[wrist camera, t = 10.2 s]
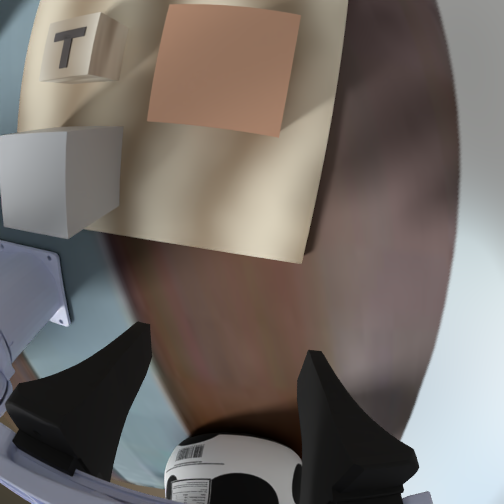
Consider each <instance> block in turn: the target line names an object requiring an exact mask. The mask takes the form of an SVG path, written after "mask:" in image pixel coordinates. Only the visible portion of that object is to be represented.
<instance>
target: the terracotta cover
mask: <svg viewBox="0 0 504 504" xmlns="http://www.w3.org/2000/svg"><path fill="white" fill-rule="evenodd" d="M300 19H301V15H298V14H292V13H287V12H281V11H274V10H267V9H260V8H251V7H242V6H229V5H211V4H170V5H169V8H168V12H167V16H166V20H165V25H164V29H163V33H162V38H161V42H160V47H159V52H158V56H157V62H156V67H155V72H154V78H153V84H152V90H151V96H150V103H149V110H148V117H147V121H149V122H163V123H175V124H186V125H196V126H205V127H213V128H221V129H228V130H235V131H242V132H248V133H254V134H260V135H266V136H272V137H277V138H279V135H280V129H281V124H282V118H283V113H284V108H285V102H286V97H287V91H288V86H289V80H290V75H291V69H292V64H293V58H294V53H295V47H296V41H297V36H298V30H299V25H300Z"/></svg>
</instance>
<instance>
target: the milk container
mask: <svg viewBox="0 0 504 504" xmlns="http://www.w3.org/2000/svg"><path fill="white" fill-rule="evenodd" d="M301 477H302V461H301V459H300V457H299V456H298V455H297V454H296V453H295V452H294V451H293V450H292V449H291V448H290V447H288V446H286V445H284V444H282V443H279V442H277V441H274V440H272V439H270V438H265V437H260V436H256V435H252V434H245V433H231V432H220V433H208V434H202V435H198V436H194V437H191V438H188V439H186V440H184V441H182V442H181V443H180V444H179V445H178V446H177V447H176V448H175V449H174V451H173V452H172V454H171V456H170V458H169V460H168V463H167V465H166V469H165V476H164V481H165V494H166V499H168V500H173V501H177V502H182V503H187V504H299V502H300V491H301Z"/></svg>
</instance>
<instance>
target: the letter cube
mask: <svg viewBox="0 0 504 504" xmlns="http://www.w3.org/2000/svg"><path fill="white" fill-rule="evenodd" d="M128 30H129V28H128V27H126V26H125V25H123V24H121V23H120V22H118V21H116V20H114V19H113V18H111V17H109V16H107V15H106V14H104V13H102V12H98V13H93V14H88V15H83V16H78V17H74V18H70V19H66V20H62V21H58V22H55V23H51V24H50V27H49V31H48V35H47V39H46V44H45V49H44V54H43V59H42V64H41V70H40V77H39V81H41V82H54V83H65V84H82V83H93V82H107V81H119V78H120V71H121V65H122V60H123V54H124V49H125V44H126V39H127V34H128Z"/></svg>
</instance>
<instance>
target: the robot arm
mask: <svg viewBox="0 0 504 504" xmlns="http://www.w3.org/2000/svg"><path fill="white" fill-rule="evenodd" d="M50 257H51V258H50ZM48 321H51V322H54V323H57V324H60V325H63V326H66V327H68V326H69V325H70V324H71V322H70V317H69V313H68V308H67V303H66V297H65V292H64V286H63V280H62V274H61V267H60V259H59V256H58V254H57V253H55V252H50V251H46V250H41V249H37V248H33V247H28V246H24V245H20V244H16V243H11V242H7V241H3V240H0V417H1V416H2V415H3V414H4V413H5V411H6V410H7V412H8V414H9V415H10V417H11V418H12V420H13V421H14V423H15V424H16V426H17V427H18V428H19V430H18V432H17V434H16V433H15V432H14V431H12V430H11V429H10V428H8V427H6V426H5V425H3V424H2V423H0V483H2V484H3V485H4V486H6V487H7V488H9V489H10V490H12V491H13V492H15V493H16V494H18V495H19V496H21V497H22V498H24V499H25V500H27V501H29V502H31V503H32V504H187V503H182V502H177V501H173V500H168V499H164V498H160V497H156V496H152V495H149V494H145V493H141V492H138V491H134V490H131V489H128V488H125V487H122V486H119V485H116V484H113V483H110V479H111V474H112V469H113V464H114V460H115V455H116V451H117V447H118V444H119V440H120V436H121V433H122V430H123V427H124V423H125V420H126V417H127V415H128V412H129V410H130V408H131V406H132V403H133V401H134V399H135V397H136V395H137V393H138V391H139V389H140V387H141V384H142V382H143V380H144V378H145V376H146V373H147V370H148V368H149V364H150V361H151V358H152V350H151V336H150V324H146V323H141V322H136V323H135V324H134V325H132V326H131V327H130V328H129V329H128V330H126V331H125V332H124V333H123V334H121V335H120V336H119V337H118V338H116V339H115V340H114V341H112V342H111V343H110V344H108V345H107V346H106V347H104V348H103V349H101V350H100V351H98V352H97V353H95V354H94V355H93V356H91V357H89V358H88V359H86V360H84V361H82V362H81V363H79V364H77V365H75V366H73V367H71V368H68V369H66V370H64V371H61V372H59V373H57V374H54V375H51V376H48V377H45V378H41V379H38V380H33V381H29V382H24V383H19V384H18V385H17V387H16V388H15V389H14V391H13V392H12V384H11V382H10V380H9V379H10V378H11V377H12V375H13V374H14V373H15V371H14V369H13V367H12V365H11V364H12V363H13V362H14V360H15V359H16V358H17V357H18V356H19V354H20V353H21V352H22V351H23V350H24V348H25V347H26V346H27V345H28V344H29V343H30V341H31V340H32V339H33V338H34V337H35V336H36V334H37V333H38V332H39V331H40V330H41V329H42V328H43V327H44V325H45V324H46V323H47V322H48ZM297 402H298V411H299V419H300V427H301V436H302V477H301V491H300V502H299V504H433V502H432V499H431V495H430V492H428V491H427V492H423V493H419V494H415V495H410V496H407V497H405V498H403V499H402V497H401V493H403V491H404V488H403V484H404V483H405V482H406V481H408V480H409V479H410V478H411V477H412V476H413V475H414V474H415V473H416V472H417V471H418V469H419V464H418V461H417V457H416V454H415V452H414V449H412V448H411V447H409V446H408V445H406V444H404V443H403V442H401V441H399V440H398V439H396V438H395V437H393V436H392V435H391V434H389V433H388V432H386V431H385V430H384V429H383V428H381V427H380V426H379V425H378V424H377V423H376V422H375V421H373V420H372V419H371V418H370V417H369V416H368V415H367V414H366V413H365V412H364V411H363V410H362V409H361V408H360V407H359V405H358V404H357V403H356V402H355V401H354V400H353V398H352V397H351V396H350V394H349V393H348V392H347V390H346V389H345V388H344V386H343V385H342V383H341V382H340V380H339V379H338V377H337V376H336V374H335V373H334V371H333V370H332V368H331V366H330V365H329V363H328V361H327V360H326V358H325V356H324V355H323V353H322V352H321V351H314V350H308V352H307V355H306V358H305V361H304V364H303V366H302V369H301V372H300V374H299V377H298V380H297Z"/></svg>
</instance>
